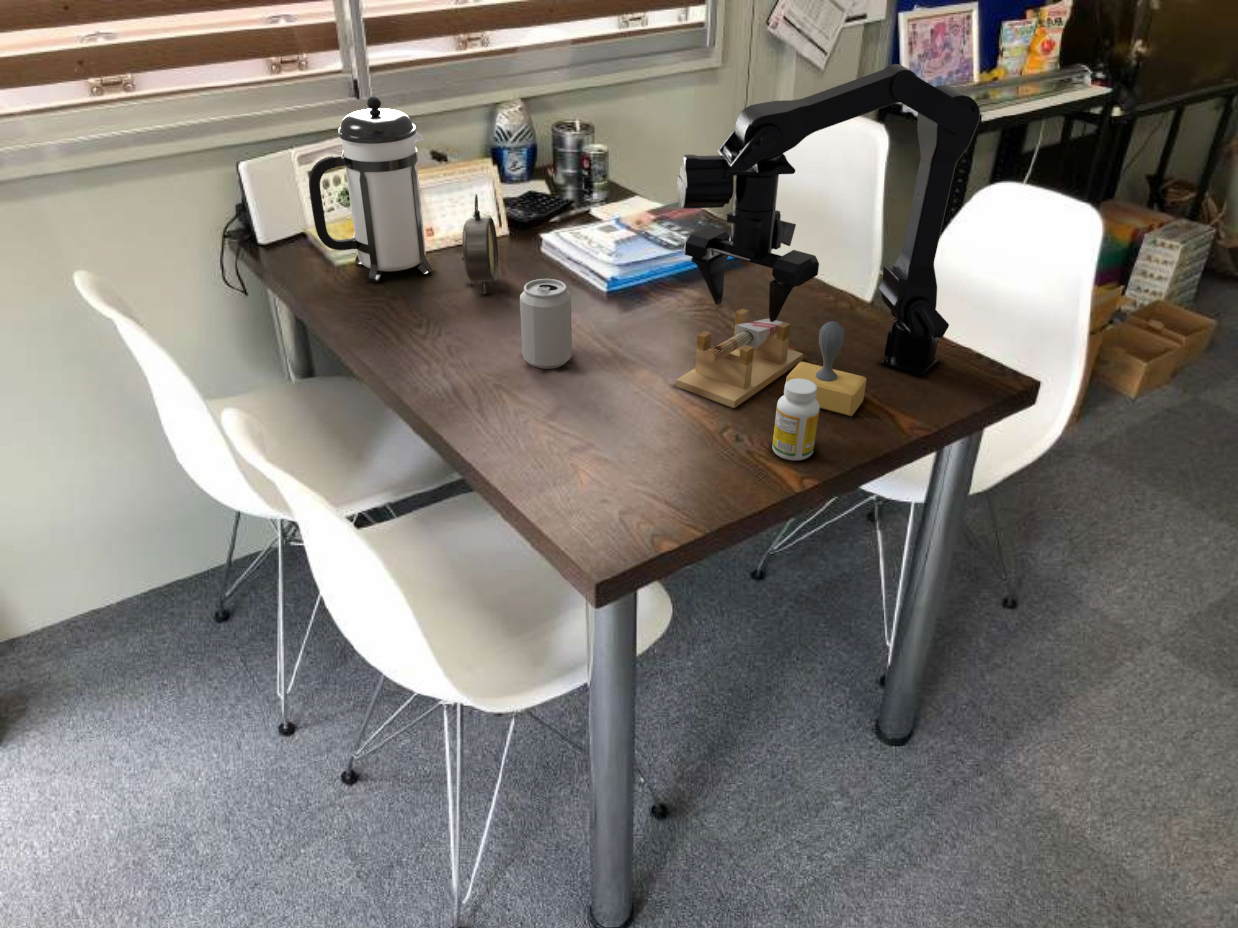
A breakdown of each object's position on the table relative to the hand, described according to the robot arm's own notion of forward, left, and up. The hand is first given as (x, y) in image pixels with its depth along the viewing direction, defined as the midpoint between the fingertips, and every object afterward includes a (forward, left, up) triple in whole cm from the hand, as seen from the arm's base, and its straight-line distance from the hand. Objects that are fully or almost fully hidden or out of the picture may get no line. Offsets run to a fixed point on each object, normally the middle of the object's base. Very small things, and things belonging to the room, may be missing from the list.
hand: (745, 312), depth 144 cm
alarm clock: (+53, +1, -10) cm, 54 cm away
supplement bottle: (-17, +14, -10) cm, 24 cm away
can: (+25, +15, -10) cm, 31 cm away
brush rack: (0, 0, -10) cm, 10 cm away
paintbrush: (0, 0, -6) cm, 6 cm away
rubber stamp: (-14, -1, -10) cm, 17 cm away
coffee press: (+71, +7, -10) cm, 72 cm away
